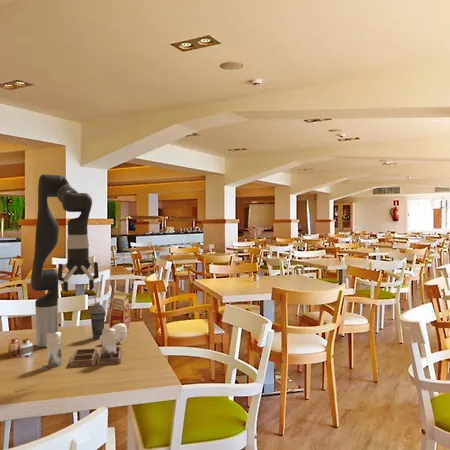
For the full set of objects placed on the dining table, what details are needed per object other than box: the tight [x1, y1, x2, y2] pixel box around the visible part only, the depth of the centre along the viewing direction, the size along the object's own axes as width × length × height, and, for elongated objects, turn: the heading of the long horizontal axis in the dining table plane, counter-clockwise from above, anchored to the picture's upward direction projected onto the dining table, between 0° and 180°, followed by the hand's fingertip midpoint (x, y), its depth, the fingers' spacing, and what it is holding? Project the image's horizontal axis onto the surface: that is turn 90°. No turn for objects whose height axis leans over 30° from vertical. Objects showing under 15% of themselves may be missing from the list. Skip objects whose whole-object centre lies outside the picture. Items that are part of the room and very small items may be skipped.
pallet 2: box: [96, 346, 123, 366], centre depth 186 cm, size 18×9×3 cm, turn 10°
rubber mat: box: [39, 364, 50, 371], centre depth 178 cm, size 9×9×1 cm
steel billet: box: [46, 330, 63, 368], centre depth 178 cm, size 5×5×12 cm
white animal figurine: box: [99, 323, 128, 345], centre depth 213 cm, size 6×8×12 cm
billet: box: [101, 327, 117, 359], centre depth 181 cm, size 5×5×12 cm
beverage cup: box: [89, 294, 106, 340], centre depth 224 cm, size 7×7×20 cm
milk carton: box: [108, 290, 131, 333], centre depth 238 cm, size 9×9×20 cm
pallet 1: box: [69, 347, 99, 368], centre depth 184 cm, size 18×9×3 cm, turn 10°
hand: (78, 291), depth 178 cm, fingers open, 8 cm apart
